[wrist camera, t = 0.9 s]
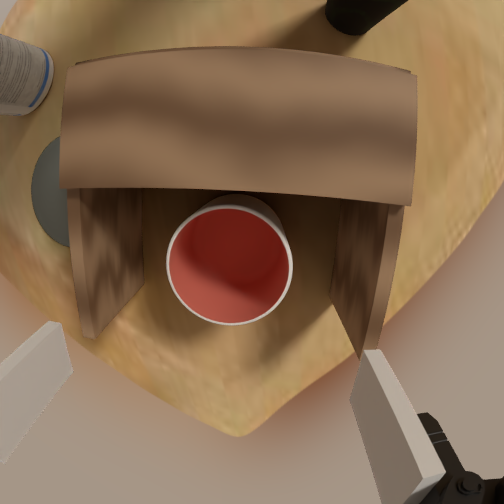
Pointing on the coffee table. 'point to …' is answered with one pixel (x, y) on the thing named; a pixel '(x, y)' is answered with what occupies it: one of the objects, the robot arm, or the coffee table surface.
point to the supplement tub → (23, 76)
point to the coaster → (50, 195)
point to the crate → (237, 159)
